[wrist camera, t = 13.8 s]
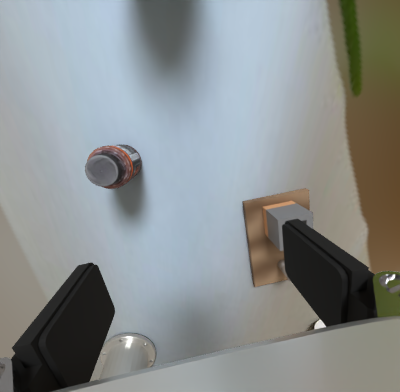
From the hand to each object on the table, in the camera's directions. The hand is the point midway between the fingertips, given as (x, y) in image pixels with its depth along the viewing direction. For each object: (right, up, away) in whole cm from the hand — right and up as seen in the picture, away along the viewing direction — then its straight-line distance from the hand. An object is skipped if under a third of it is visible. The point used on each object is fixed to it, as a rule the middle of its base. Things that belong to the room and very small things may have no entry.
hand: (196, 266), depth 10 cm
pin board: (+17, -6, +33) cm, 37 cm away
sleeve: (+16, -1, +30) cm, 34 cm away
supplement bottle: (-13, +10, +26) cm, 30 cm away
